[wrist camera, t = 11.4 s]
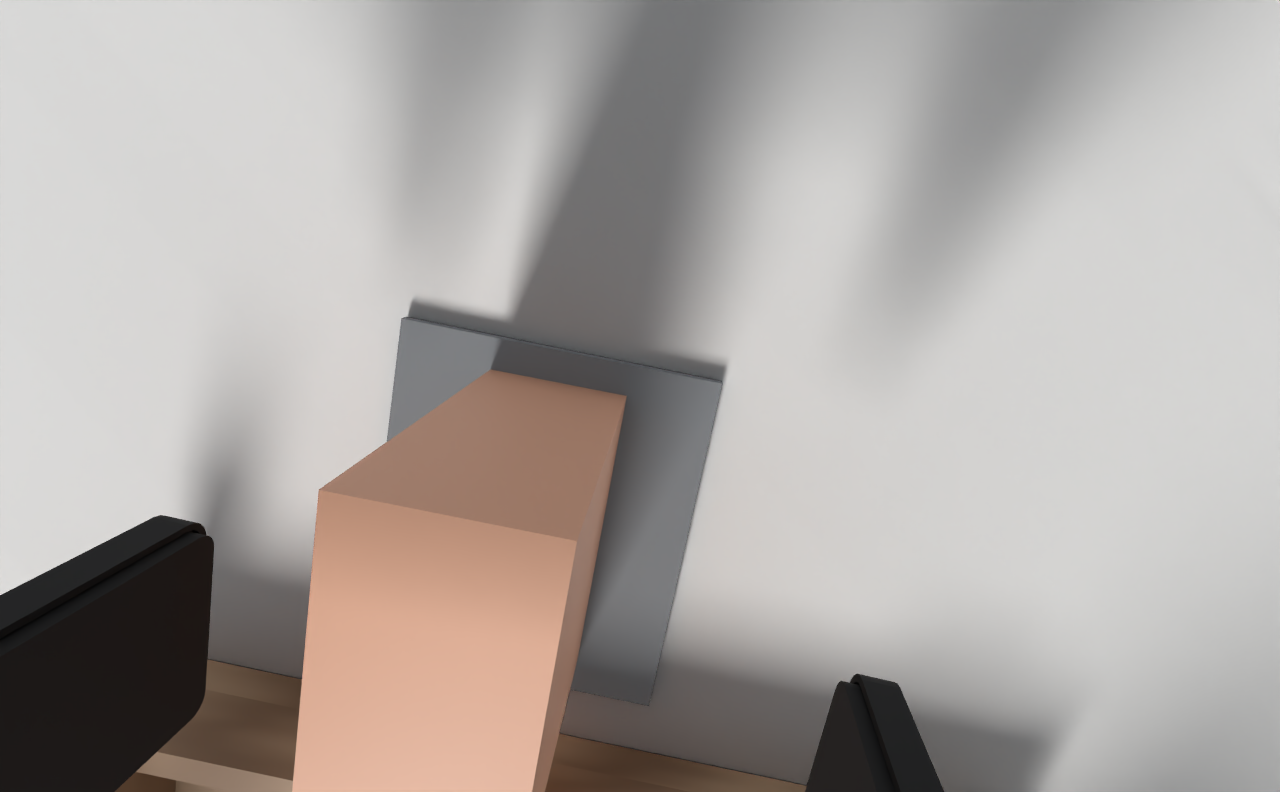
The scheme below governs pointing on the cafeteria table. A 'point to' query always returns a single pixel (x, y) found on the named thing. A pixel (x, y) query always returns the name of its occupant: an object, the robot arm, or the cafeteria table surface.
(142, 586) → the robot arm
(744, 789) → the rack
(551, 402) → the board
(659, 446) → the mat
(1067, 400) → the cafeteria table surface
